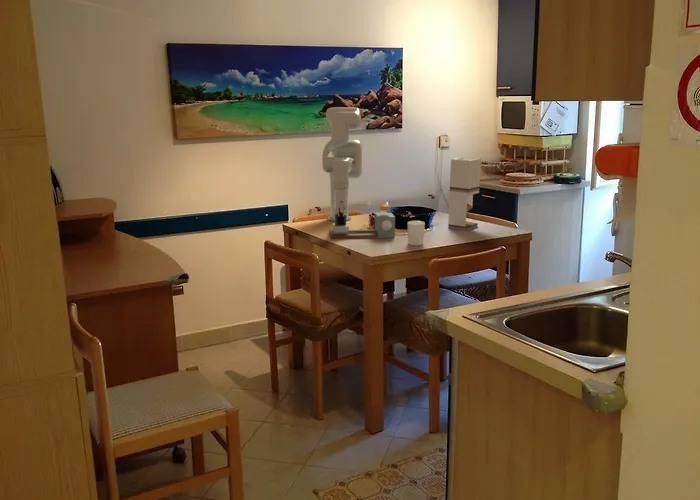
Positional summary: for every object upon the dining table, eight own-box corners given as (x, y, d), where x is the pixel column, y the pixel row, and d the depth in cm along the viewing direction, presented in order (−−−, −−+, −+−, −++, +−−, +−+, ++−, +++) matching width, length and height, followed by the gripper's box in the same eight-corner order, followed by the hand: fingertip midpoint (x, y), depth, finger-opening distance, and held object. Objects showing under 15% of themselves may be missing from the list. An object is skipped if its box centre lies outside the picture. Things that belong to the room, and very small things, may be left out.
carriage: (332, 230, 322) (332, 213, 320) (346, 230, 322) (346, 212, 320) (334, 234, 313) (333, 216, 311) (348, 234, 314) (348, 216, 312)
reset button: (379, 208, 319) (379, 204, 319) (389, 208, 320) (389, 204, 319) (380, 210, 314) (380, 206, 314) (391, 210, 315) (391, 206, 315)
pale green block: (374, 232, 325) (375, 212, 323) (390, 232, 326) (391, 212, 323) (378, 238, 314) (378, 217, 312) (394, 237, 315) (395, 217, 312)
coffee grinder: (466, 230, 330) (470, 160, 322) (448, 228, 337) (450, 159, 328) (477, 227, 339) (480, 158, 331) (458, 224, 345) (461, 157, 337)
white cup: (410, 246, 298) (411, 224, 296) (404, 242, 306) (405, 221, 303) (426, 245, 300) (427, 223, 298) (420, 241, 308) (421, 220, 305)
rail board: (329, 233, 323) (329, 228, 323) (373, 232, 326) (373, 227, 325) (330, 238, 312) (330, 233, 311) (377, 238, 314) (377, 232, 313)
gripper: (331, 183, 320) (331, 220, 324) (333, 188, 304) (334, 227, 308) (346, 182, 320) (346, 220, 325) (350, 188, 305) (350, 227, 309)
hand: (340, 223), depth 317 cm, fingers closed on carriage, 3 cm apart
